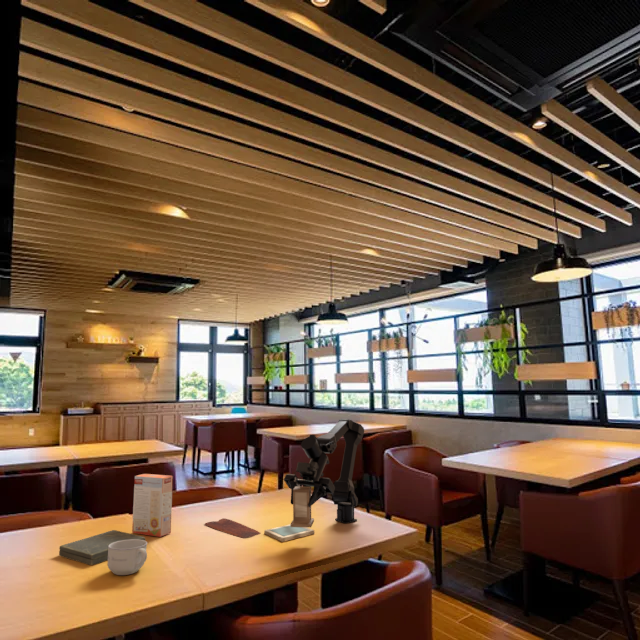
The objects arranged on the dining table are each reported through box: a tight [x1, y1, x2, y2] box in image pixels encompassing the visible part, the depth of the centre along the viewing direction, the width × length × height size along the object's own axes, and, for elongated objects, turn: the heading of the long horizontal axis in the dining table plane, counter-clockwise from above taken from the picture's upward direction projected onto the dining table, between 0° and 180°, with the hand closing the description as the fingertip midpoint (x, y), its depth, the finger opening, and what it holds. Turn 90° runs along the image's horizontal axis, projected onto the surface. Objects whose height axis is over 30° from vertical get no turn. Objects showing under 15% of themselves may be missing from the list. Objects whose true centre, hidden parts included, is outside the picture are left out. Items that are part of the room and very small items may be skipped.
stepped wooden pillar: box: [289, 486, 315, 528], centre depth 162 cm, size 7×7×12 cm
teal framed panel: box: [263, 523, 315, 543], centre depth 172 cm, size 14×12×1 cm
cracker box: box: [131, 473, 173, 538], centre depth 176 cm, size 14×6×21 cm, turn 65°
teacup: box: [107, 539, 148, 576], centre depth 137 cm, size 14×11×8 cm
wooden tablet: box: [204, 518, 261, 539], centre depth 179 cm, size 27×10×2 cm, turn 45°
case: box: [58, 529, 146, 566], centre depth 156 cm, size 18×4×20 cm
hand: (300, 505), depth 160 cm, fingers closed on stepped wooden pillar, 7 cm apart
